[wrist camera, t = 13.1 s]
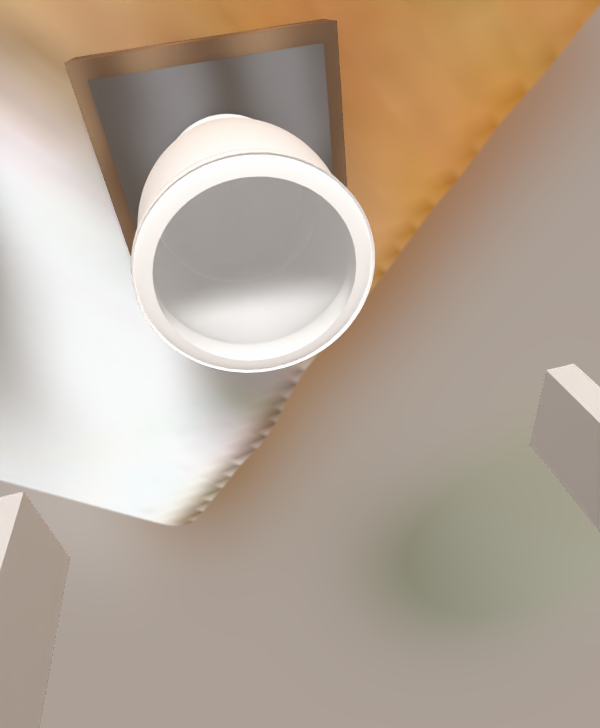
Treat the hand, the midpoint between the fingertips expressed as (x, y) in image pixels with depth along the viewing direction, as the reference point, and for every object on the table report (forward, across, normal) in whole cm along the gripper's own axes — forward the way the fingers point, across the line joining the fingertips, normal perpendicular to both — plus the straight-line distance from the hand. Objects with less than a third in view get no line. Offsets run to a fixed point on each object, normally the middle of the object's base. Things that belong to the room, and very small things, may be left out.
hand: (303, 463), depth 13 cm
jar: (+26, 0, 0) cm, 26 cm away
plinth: (+30, +1, 0) cm, 30 cm away
